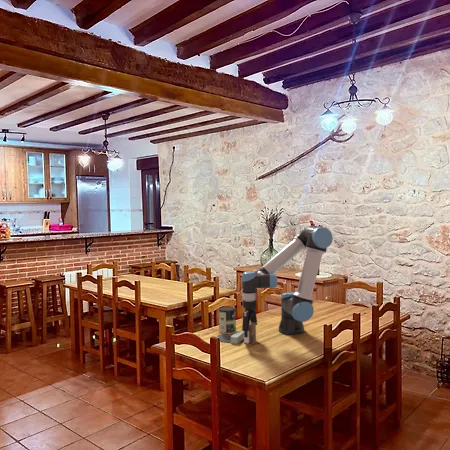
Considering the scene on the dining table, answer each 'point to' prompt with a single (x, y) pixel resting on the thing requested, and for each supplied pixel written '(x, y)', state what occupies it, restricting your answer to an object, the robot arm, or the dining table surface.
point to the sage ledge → (237, 337)
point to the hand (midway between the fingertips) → (250, 339)
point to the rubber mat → (224, 338)
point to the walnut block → (252, 333)
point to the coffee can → (227, 320)
